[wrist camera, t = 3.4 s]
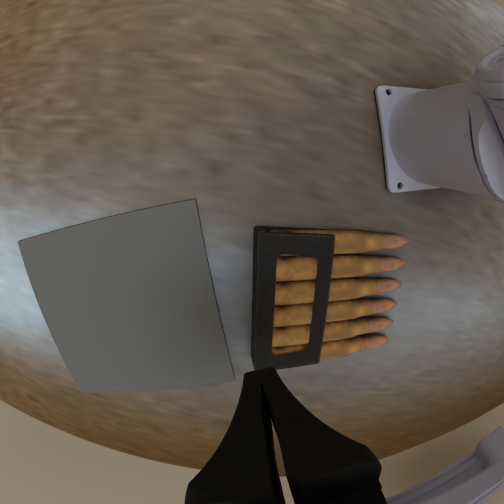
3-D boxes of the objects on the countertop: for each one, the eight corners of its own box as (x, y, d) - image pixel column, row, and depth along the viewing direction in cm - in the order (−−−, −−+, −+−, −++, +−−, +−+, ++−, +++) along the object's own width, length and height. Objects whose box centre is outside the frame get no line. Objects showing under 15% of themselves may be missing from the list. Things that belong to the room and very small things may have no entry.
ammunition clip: (251, 358, 23) (381, 342, 25) (254, 372, 21) (391, 353, 23) (253, 225, 20) (403, 226, 22) (258, 232, 18) (417, 232, 20)
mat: (195, 198, 19) (195, 199, 19) (234, 378, 24) (234, 380, 24) (19, 240, 18) (17, 241, 18) (82, 390, 23) (81, 392, 23)
